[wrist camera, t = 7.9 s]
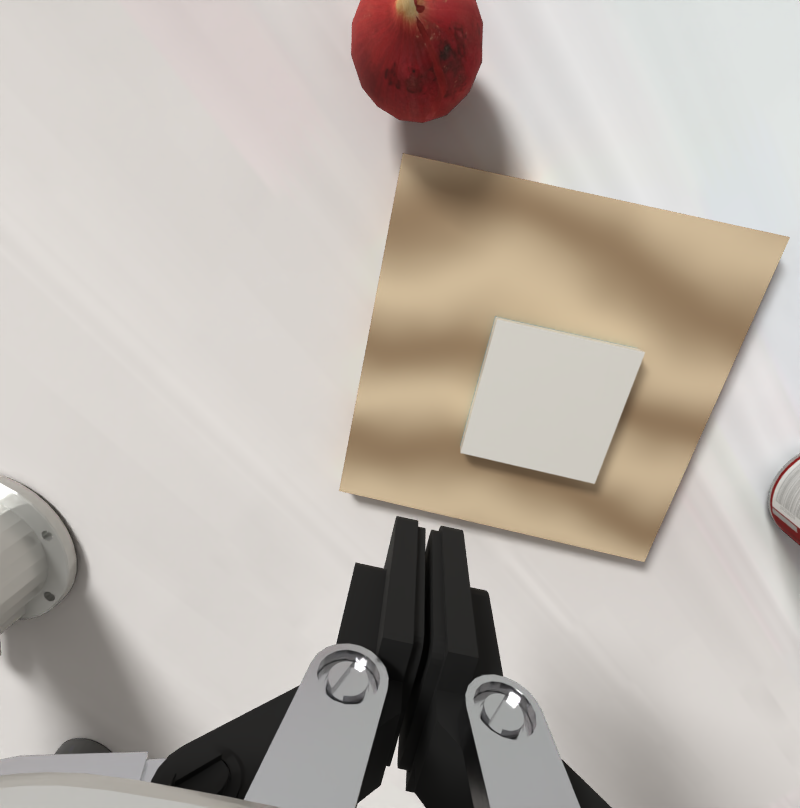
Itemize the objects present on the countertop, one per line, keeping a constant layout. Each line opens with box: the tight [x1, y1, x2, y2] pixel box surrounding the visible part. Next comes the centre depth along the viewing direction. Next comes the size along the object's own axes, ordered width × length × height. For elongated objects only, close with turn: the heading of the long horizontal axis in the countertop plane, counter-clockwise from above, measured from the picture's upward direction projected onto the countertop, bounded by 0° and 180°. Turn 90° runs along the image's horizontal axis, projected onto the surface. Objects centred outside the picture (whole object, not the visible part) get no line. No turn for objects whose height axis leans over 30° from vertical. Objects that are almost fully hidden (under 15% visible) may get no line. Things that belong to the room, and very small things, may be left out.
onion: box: [351, 0, 483, 123], centre depth 21 cm, size 6×6×8 cm
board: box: [339, 153, 790, 562], centre depth 29 cm, size 20×20×2 cm
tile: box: [460, 316, 645, 484], centre depth 28 cm, size 8×1×8 cm
